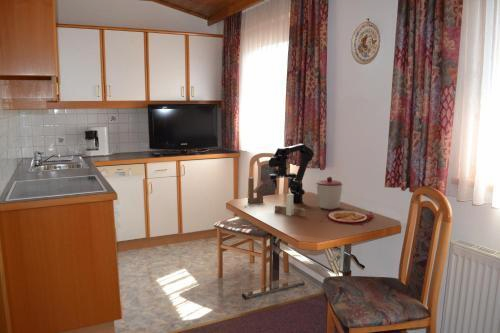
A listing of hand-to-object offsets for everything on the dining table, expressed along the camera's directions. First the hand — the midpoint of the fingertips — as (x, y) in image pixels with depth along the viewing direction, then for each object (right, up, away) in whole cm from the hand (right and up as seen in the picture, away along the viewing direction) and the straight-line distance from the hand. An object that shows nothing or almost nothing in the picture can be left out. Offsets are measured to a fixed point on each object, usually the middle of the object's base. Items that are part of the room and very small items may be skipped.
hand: (282, 188), depth 275 cm
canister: (+31, -13, -3) cm, 34 cm away
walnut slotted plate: (+3, -15, -20) cm, 25 cm away
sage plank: (+3, -15, -20) cm, 25 cm away
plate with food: (+37, -17, -30) cm, 51 cm away
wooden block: (-18, -11, +13) cm, 25 cm away
